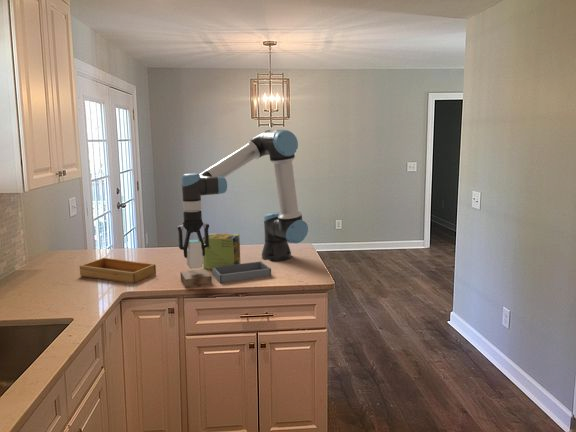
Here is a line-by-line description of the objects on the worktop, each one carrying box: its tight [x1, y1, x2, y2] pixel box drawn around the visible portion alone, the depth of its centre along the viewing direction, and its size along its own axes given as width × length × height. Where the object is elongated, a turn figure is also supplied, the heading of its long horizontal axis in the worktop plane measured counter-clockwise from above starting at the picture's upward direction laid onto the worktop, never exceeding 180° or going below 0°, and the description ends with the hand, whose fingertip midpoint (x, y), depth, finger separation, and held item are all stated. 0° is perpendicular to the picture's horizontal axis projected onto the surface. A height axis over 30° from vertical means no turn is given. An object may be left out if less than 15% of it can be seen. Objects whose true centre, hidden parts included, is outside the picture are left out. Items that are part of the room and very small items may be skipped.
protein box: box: [202, 233, 242, 270], centre depth 231 cm, size 10×15×16 cm
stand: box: [180, 268, 213, 289], centre depth 209 cm, size 11×12×4 cm
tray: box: [79, 257, 157, 285], centre depth 221 cm, size 31×15×6 cm, turn 67°
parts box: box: [187, 239, 203, 270], centre depth 207 cm, size 5×6×11 cm
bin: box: [211, 261, 272, 284], centre depth 216 cm, size 23×14×4 cm, turn 112°
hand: (194, 263), depth 208 cm, fingers closed on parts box, 5 cm apart
